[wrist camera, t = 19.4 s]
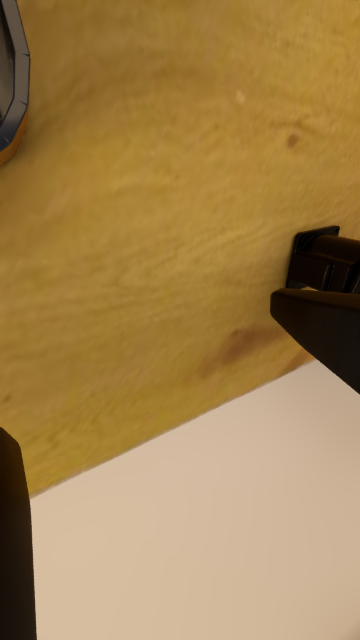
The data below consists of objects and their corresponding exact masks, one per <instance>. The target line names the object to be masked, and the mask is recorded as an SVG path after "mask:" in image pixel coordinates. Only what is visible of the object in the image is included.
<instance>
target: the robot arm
mask: <svg viewBox="0 0 360 640" xmlns="http://www.w3.org/2000/svg"><path fill="white" fill-rule="evenodd" d="M339 230H340V227H339V226H336V225H334V226H329V227H324V228H319V229H314V230H309V231H305V232H300V233H298V234H297V235H296V237H295V241H294V246H293V251H292V256H291V261H290V266H289V271H288V276H287V281H286V286H285V288H280V289H278V290H276V291H274V292H272V294H271V298H270V313H271V316H272V317H273V318H274V319H275V320H276V321H277V322H278V323H279V324H280V325H281V326H282V327H283V328H284V329H285V330H286V331H287V332H288V333H289V334H290V335H291V336H292V337H293V338H294V339H295V340H296V341H297V342H298V343H299V344H300V345H301V346H302V347H303V348H304V349H305V350H306V351H308V352H309V353H310V354H311V355H312V356H314V357H315V358H316V359H317V360H319V361H320V362H321V363H322V364H324V365H325V366H326V367H327V368H328V369H330V370H331V371H332V372H333V373H334V374H336V375H337V376H338V377H339V378H340V379H342V380H343V381H344V382H345V383H346V384H348V385H349V386H350V387H351V388H352V389H354V390H355V391H356V392H357V393H359V394H360V241H358V240H354V239H349V238H344V237H339V236H338V234H339ZM305 287H310V288H313V289H315V290H318V291H314V290H301V289H302V288H305ZM32 548H33V547H32V525H31V508H30V500H29V494H28V488H27V482H26V476H25V470H24V465H23V459H22V453H21V448H20V446H19V444H18V442H17V441H16V440H15V439H14V438H13V437H12V436H11V435H9V434H8V433H7V432H6V431H5V430H4V429H3V428H2V427H0V640H37V634H36V613H35V591H34V570H33V549H32Z"/></svg>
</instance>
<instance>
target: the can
mask: <svg viewBox="0 0 360 640" xmlns="http://www.w3.org/2000/svg"><path fill="white" fill-rule="evenodd" d="M30 60H31V59H30V52H29V48H28V44H27V40H26V36H25V32H24V28H23V24H22V20H21V16H20V12H19V8H18V4H17V0H0V166H1V165H2V164H4V163H6V162H7V161H8V160H9V159H10V158H11V157H13V156H14V155H15V154H16V152H17V150H18V148H19V146H20V144H21V142H22V140H23V137H24V135H25V133H26V128H27V117H28V107H29V85H30Z"/></svg>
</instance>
